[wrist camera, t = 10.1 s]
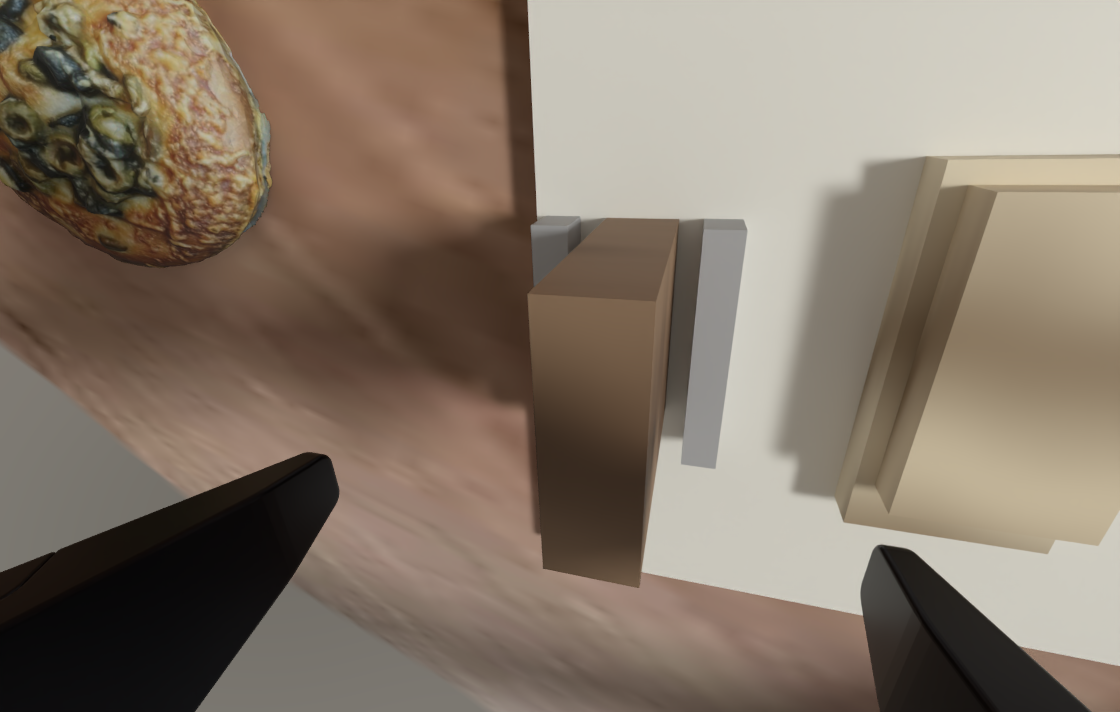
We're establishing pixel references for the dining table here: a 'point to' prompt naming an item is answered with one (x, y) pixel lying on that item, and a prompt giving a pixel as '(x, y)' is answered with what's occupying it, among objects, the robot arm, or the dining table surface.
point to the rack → (808, 253)
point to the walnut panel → (602, 394)
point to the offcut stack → (997, 359)
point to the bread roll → (131, 127)
